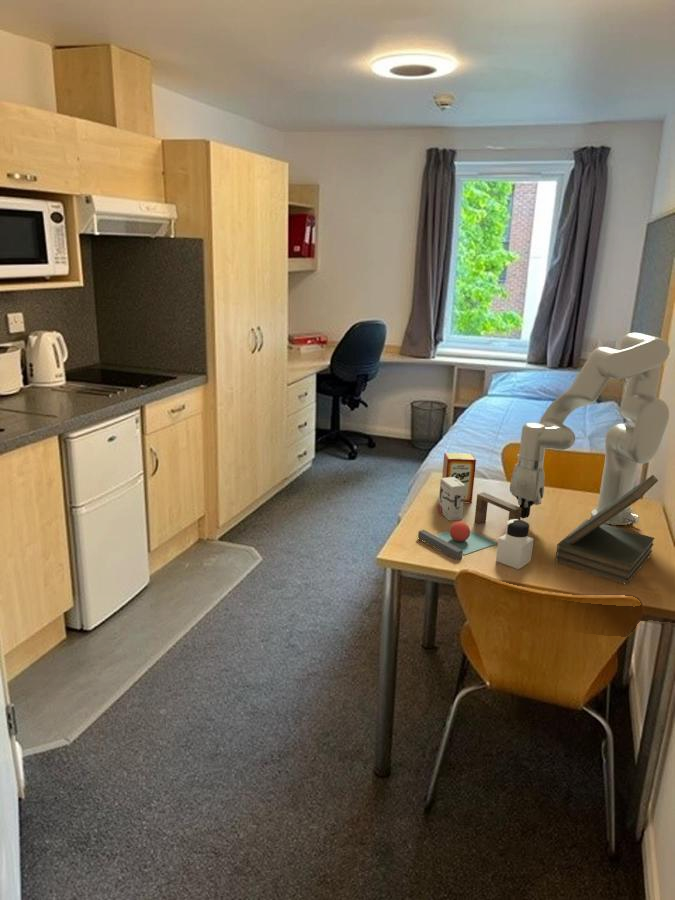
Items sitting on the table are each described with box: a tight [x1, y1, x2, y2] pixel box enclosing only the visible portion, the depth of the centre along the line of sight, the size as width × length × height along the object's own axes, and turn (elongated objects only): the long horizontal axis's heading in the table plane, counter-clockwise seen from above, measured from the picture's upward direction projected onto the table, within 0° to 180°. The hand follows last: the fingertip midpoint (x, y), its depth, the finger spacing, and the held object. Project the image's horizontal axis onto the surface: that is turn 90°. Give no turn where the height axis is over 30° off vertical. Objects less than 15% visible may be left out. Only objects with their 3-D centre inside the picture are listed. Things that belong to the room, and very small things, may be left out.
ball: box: [449, 521, 471, 542], centre depth 191 cm, size 6×6×6 cm
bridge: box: [473, 492, 522, 526], centre depth 199 cm, size 3×15×10 cm, turn 35°
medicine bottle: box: [495, 519, 534, 570], centre depth 179 cm, size 7×7×12 cm
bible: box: [554, 474, 659, 585], centre depth 180 cm, size 23×20×25 cm
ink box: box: [437, 477, 465, 521], centre depth 209 cm, size 9×5×12 cm, turn 18°
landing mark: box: [435, 529, 498, 556], centre depth 193 cm, size 14×14×1 cm
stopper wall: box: [417, 529, 463, 560], centre depth 187 cm, size 16×2×2 cm, turn 35°
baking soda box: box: [441, 452, 477, 504], centre depth 222 cm, size 10×6×16 cm
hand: (523, 516), depth 207 cm, fingers closed
